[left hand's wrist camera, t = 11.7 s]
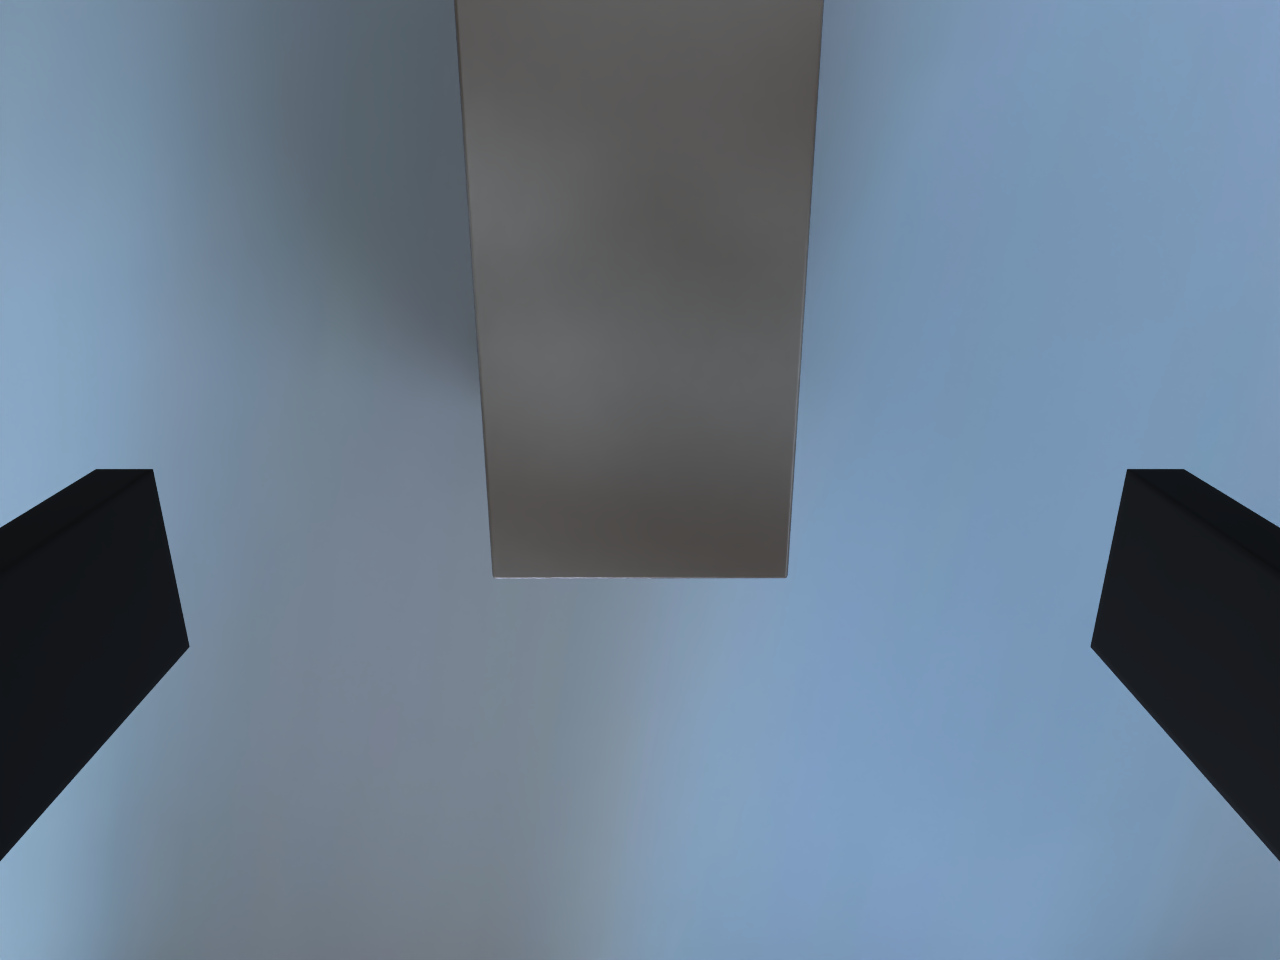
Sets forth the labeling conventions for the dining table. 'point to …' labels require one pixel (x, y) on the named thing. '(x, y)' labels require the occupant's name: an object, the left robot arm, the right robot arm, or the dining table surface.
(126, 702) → the left robot arm
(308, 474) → the dining table surface
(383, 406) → the dining table surface
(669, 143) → the grey rectangular box
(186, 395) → the dining table surface
